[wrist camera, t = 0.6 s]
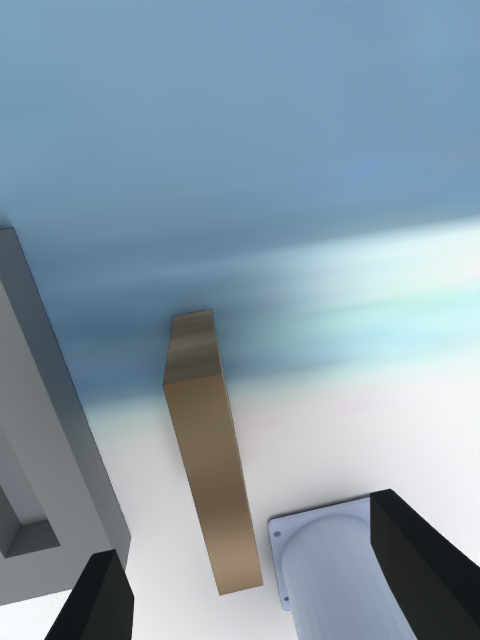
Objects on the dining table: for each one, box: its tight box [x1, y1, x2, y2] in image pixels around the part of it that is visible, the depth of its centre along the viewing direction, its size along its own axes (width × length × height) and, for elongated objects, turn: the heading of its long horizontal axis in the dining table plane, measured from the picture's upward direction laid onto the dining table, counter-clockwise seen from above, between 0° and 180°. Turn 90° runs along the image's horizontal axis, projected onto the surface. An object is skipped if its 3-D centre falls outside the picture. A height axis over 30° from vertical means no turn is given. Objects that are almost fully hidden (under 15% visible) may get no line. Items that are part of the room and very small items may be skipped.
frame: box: [163, 309, 263, 596], centre depth 17 cm, size 11×2×7 cm, turn 9°
